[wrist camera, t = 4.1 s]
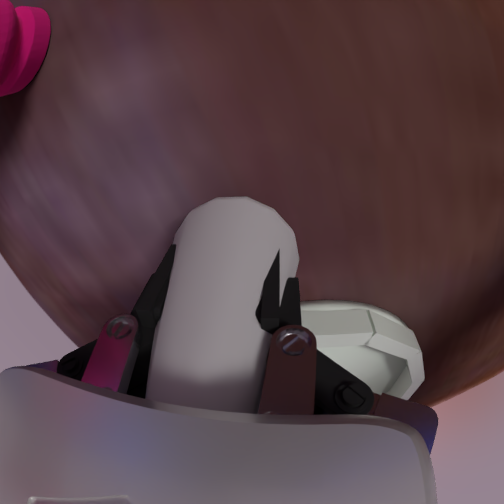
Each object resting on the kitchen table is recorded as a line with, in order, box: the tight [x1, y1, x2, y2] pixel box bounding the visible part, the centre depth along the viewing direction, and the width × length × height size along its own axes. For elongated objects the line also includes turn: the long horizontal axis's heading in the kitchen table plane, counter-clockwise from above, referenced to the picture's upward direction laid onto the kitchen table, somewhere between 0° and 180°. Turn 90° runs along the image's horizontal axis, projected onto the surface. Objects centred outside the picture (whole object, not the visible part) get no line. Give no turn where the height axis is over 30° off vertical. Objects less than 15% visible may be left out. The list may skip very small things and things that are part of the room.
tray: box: [300, 300, 425, 400], centre depth 22 cm, size 20×20×3 cm
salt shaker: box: [145, 196, 299, 414], centre depth 9 cm, size 6×6×13 cm
